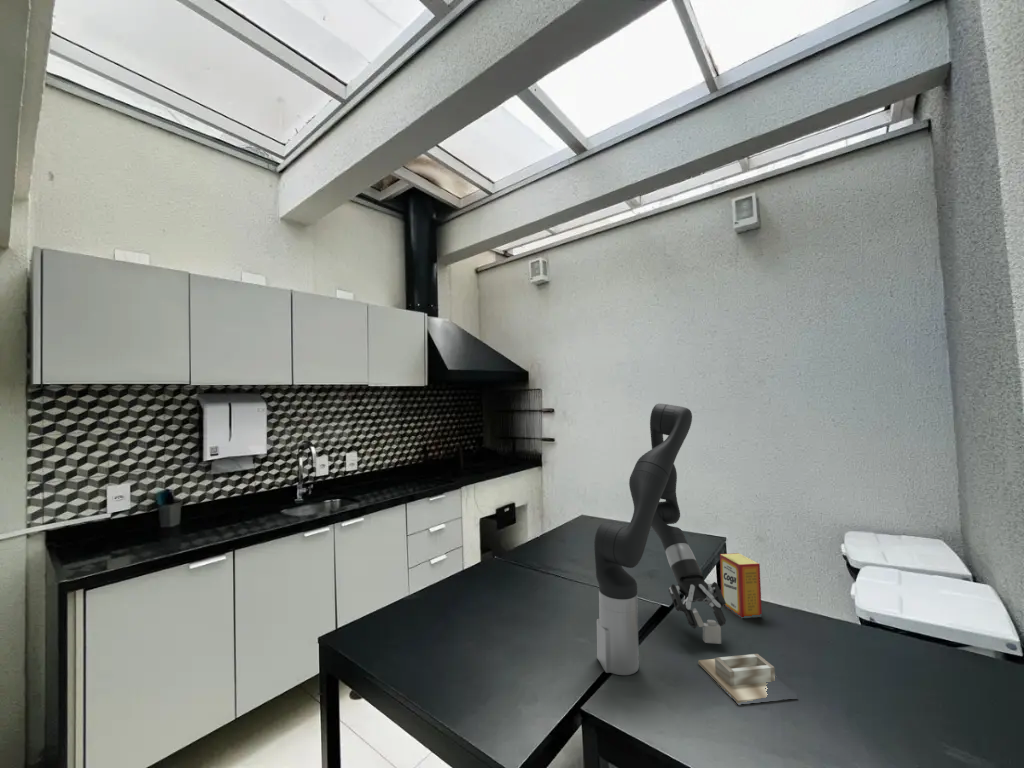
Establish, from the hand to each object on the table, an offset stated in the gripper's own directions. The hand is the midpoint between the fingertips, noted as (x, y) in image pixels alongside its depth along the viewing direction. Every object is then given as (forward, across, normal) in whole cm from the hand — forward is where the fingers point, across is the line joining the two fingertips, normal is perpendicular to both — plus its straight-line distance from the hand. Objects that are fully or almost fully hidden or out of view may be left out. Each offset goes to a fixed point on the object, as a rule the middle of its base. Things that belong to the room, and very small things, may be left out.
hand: (709, 625), depth 106 cm
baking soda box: (-8, +22, +16) cm, 29 cm away
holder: (+13, 0, -5) cm, 14 cm away
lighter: (+2, 0, +4) cm, 5 cm away
